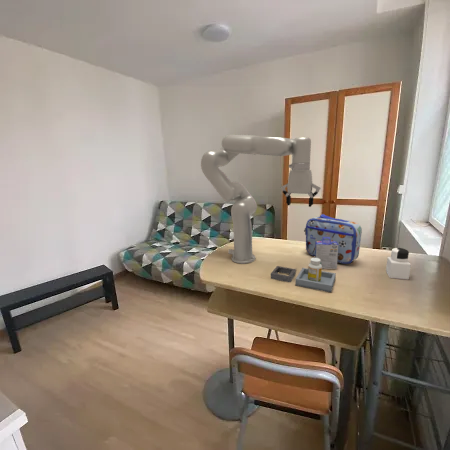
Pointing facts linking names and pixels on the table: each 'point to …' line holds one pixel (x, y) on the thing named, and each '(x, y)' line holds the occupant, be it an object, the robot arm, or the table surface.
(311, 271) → the supplement bottle
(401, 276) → the medicine bottle
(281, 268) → the collar
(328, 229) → the lunch box
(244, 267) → the table surface
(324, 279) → the tray
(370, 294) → the table surface
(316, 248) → the ink cartridge box
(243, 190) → the robot arm
